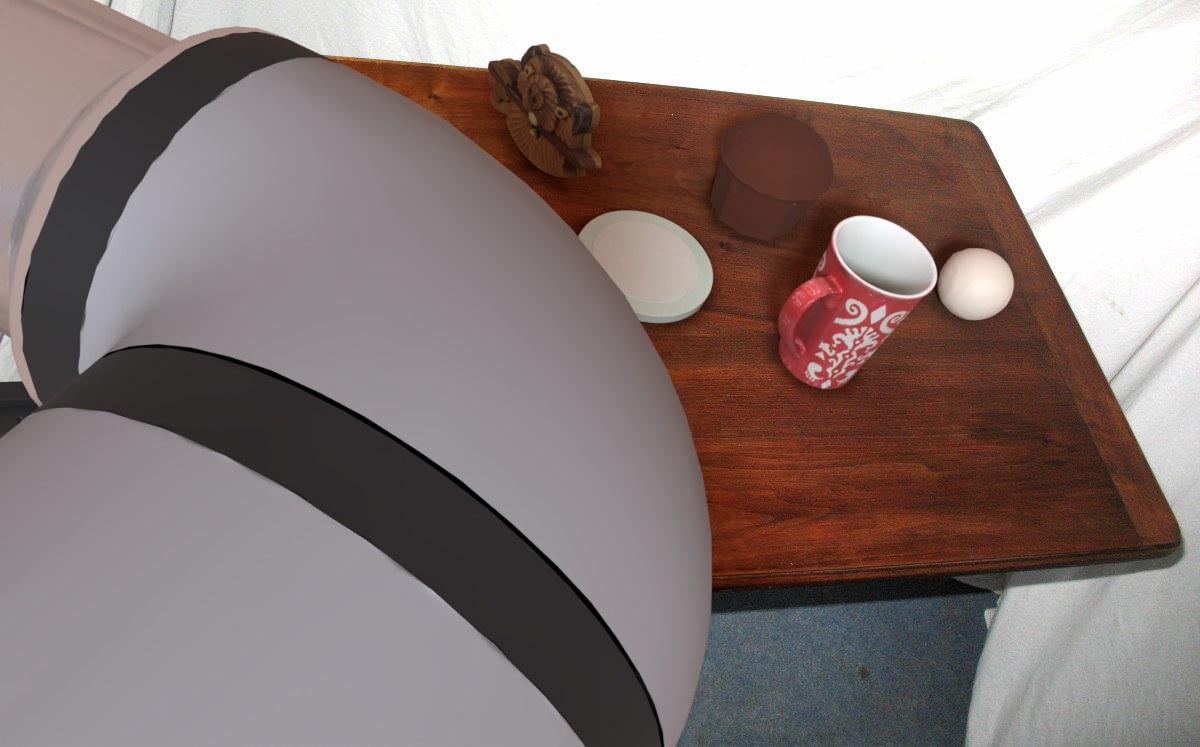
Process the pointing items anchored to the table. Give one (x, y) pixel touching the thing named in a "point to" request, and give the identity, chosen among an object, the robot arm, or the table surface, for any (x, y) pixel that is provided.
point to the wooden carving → (547, 110)
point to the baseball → (975, 284)
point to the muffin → (769, 174)
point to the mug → (853, 300)
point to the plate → (651, 263)
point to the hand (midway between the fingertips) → (145, 256)
